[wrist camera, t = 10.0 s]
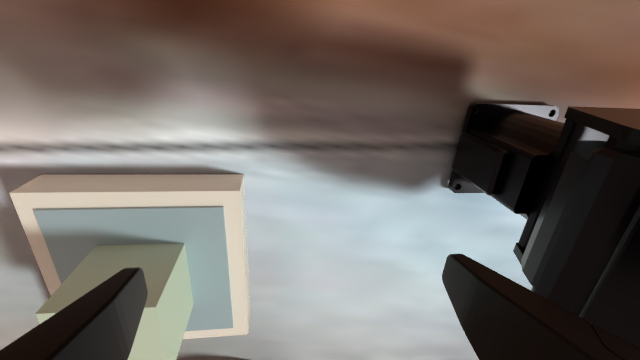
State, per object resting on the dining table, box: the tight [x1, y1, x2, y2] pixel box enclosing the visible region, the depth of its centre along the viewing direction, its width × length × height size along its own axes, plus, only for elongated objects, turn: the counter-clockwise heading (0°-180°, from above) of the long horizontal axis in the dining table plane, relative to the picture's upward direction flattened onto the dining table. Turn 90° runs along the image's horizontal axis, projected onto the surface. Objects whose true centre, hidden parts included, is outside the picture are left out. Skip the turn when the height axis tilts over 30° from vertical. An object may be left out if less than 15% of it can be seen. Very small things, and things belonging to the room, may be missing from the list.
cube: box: [35, 243, 194, 360], centre depth 17 cm, size 5×5×5 cm
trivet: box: [9, 174, 251, 339], centre depth 21 cm, size 12×12×3 cm
